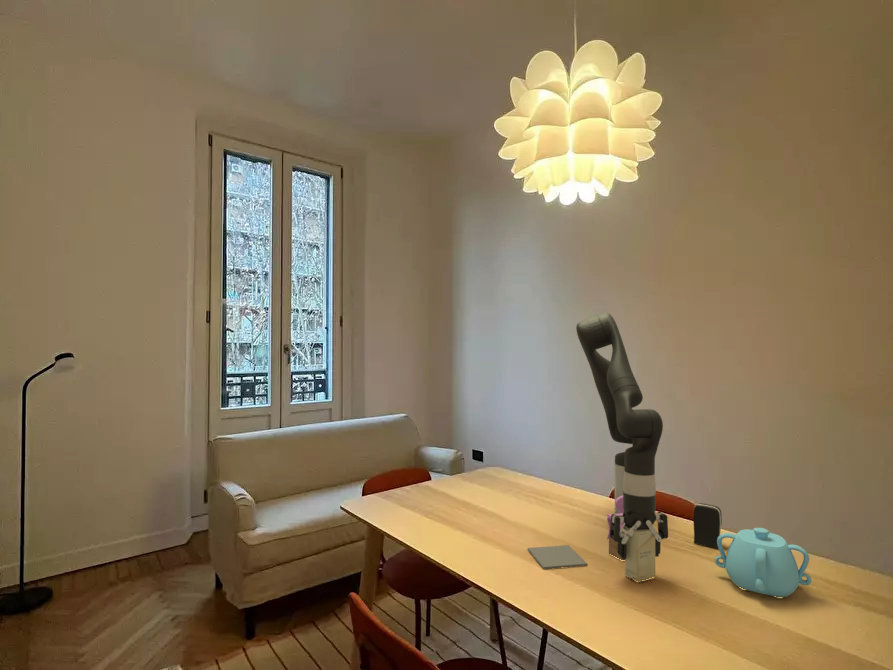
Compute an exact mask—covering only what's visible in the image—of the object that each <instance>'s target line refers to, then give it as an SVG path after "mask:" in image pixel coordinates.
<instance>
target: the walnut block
mask: <svg viewBox="0 0 893 670" xmlns="http://www.w3.org/2000/svg"><path fill="white" fill-rule="evenodd" d="M609 554H611V555H613V556H615V557H617V558H619V559H621V560H625V559H622V558H621V557H620V555H618V542H615V541H614V540H613V539H612V538H610V536H609V540H608V555H609ZM611 555H610V556H611ZM613 556H612V557H613ZM615 557H614V558H615Z"/></svg>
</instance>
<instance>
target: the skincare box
mask: <svg viewBox="0 0 893 670" xmlns="http://www.w3.org/2000/svg"><path fill="white" fill-rule="evenodd" d="M625 530H626V531H628V530H629V528H628V527H625ZM626 544H627V558H626V559H625V561H624V576H625V575H626V576H628V577H630V578H632V579H634V580H636V581H638V582H639V581H642V580H646V579H649V578H652V577H655V578H656V557H655V537H654V535H653V534H652V532H651V530H636V531H634V534H633V535H632V537H629V539H628V540H627V542H626ZM626 576H625V577H626ZM628 577H627V578H628ZM630 578H629V579H630Z"/></svg>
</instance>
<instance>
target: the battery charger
mask: <svg viewBox="0 0 893 670" xmlns="http://www.w3.org/2000/svg"><path fill="white" fill-rule="evenodd" d="M722 516H723V515H722V509H721V508H720V507H718V506H716V505H713V504H707V503H701V502H700V503H697V504H696V505H694V507H693V520H692V522H693V543H694V544H696V545H699V546H703V547H707V548H711V549H712V548H713V549H717V550H719V548H718V545H717V538H718V537H719V535H721V529H722V527H721V526H722V524H723V523H722V522H723V519H722Z"/></svg>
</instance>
